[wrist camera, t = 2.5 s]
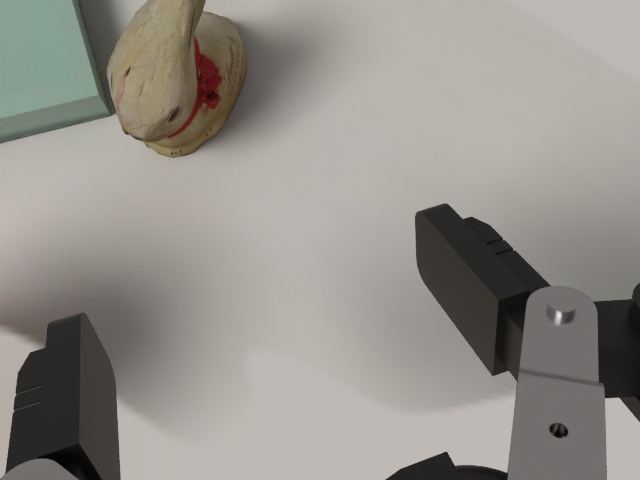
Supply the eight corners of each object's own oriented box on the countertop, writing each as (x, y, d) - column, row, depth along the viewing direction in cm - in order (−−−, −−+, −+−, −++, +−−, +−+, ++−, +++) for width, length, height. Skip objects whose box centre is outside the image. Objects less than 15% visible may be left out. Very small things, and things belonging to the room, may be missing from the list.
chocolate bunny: (91, 96, 29) (14, -28, 20) (220, 13, 31) (209, -140, 21) (159, 184, 29) (115, 102, 19) (285, 95, 31) (305, -22, 21)
